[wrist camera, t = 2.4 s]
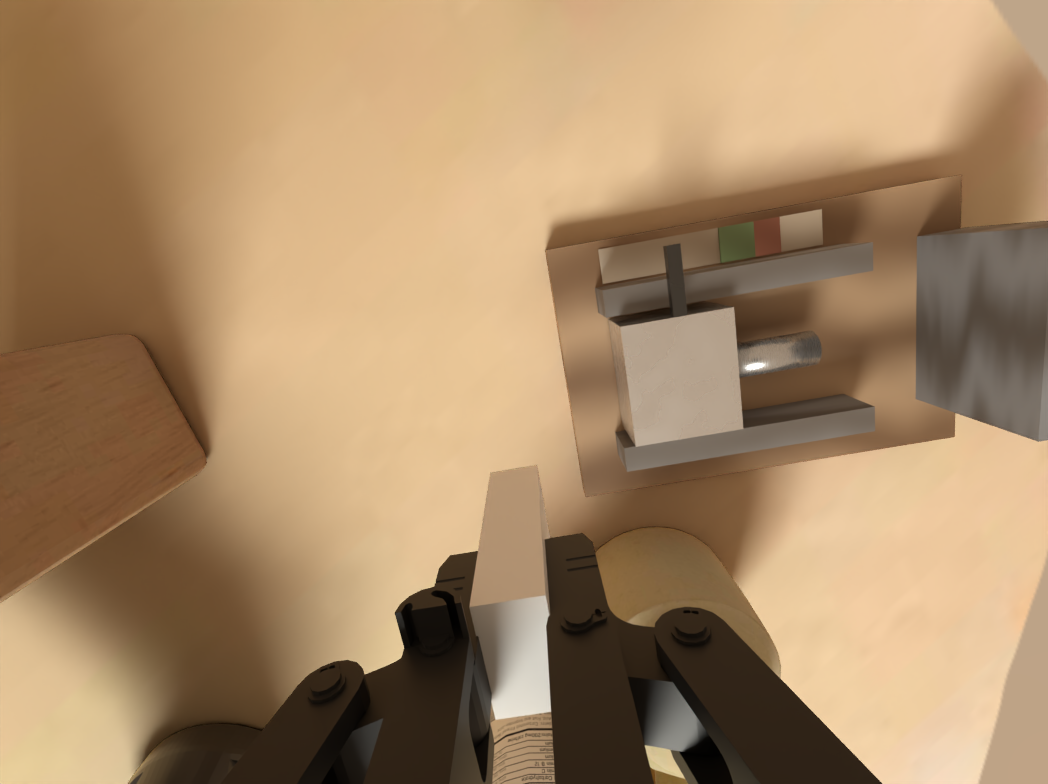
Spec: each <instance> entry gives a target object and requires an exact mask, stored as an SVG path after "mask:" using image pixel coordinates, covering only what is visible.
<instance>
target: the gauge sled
mask: <svg viewBox="0 0 1048 784" xmlns="http://www.w3.org/2000/svg"><path fill="white" fill-rule="evenodd" d="M663 249H664V259H665V268H666V278H667V287H668V296H669V306H670V308H668V309H662V310H656V311H651V312H645V313H639V314H634V315H628V316H622V317H617V318H611V319H608V322H609V330H610V337H611V345H612V352H613V359H614V367H615V374H616V381H617V389H618V396H619V403H620V411H621V418H622V425H623V427H624V428H625V430H626V432H627V433H628V435H629V436H630V438H631V440H632V441H633V443H634V444H635V446H636V447H638V446H644V445H650V444H656V443H662V442H668V441H674V440H680V439H686V438H692V437H698V436H704V435H710V434H716V433H722V432H728V431H734V430H740V429H743V417H742V404H741V391H740V378H742V377H748V376H754V375H760V374H765V373H771V372H777V371H783V370H789V369H795V368H801V367H807V366H812V365H817V364H818V363H819V362H820V360H821V356H822V348H821V343H820V340H819V338H818V336H817V335H816V333H815V332H813V331H804V332H798V333H793V334H787V335H781V336H775V337H769V338H764V339H758V340H752V341H746V342H740V343H737V339H736V326H735V313H734V307H732V306H727V305H722V304H717V303H712V302H702V303H696V304H690V305H686V295H685V284H684V274H683V264H682V254H681V244H680V243H678V244H672V245H667V246H663Z"/></svg>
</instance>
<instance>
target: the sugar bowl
mask: <svg viewBox="0 0 1048 784" xmlns="http://www.w3.org/2000/svg"><path fill="white" fill-rule="evenodd" d="M595 554H596V558H597V562H598V567H599V571H600V575H601V579H602V583H603V587H604V591H605V595H606V599H607V603H608V606H609V608H610V610H611V611H612V612H613V614H614V615H615V616H617V617H618V618H620V619H621V620H623V621H625V622H628V623H631V624H634V625H640V626H648V627H655V622H656V621H657V620H658V619H659V618H660V616H661V615H662V614H664V613H666V612H668V611H670V610H672V609H675V608H681V607H696V608H702V609H705V610H708V611H711V612H713V613H715V614H716V615H717V616H719V617H720V618H722V619H723V620H724V621H725V622H726V623H727V624H728V625H729V626H730V627H731V628H732V629H733V630H734V631H735V632H736V633H737V634H738V635H739V637H740V638H741V639H742V640H743V641H744V642H745V643H746V644H747V645H748V646H749V647H750V648H751V649H752V650H753V651H754V652H755V653H756V654H757V655H758V656H759V657H760V658H761V659H762V660H763V661H764V662H765V663H766V664H767V665H768V666H769V667H770V668H771V670H772V671H773V672H774V673H775V674H776V675H777V676H778V677H779V678H780V674H781V665H780V660H779V655H778V652H777V649H776V647H775V645H774V643H773V641H772V639H771V637H770V635H769V634H768V632H767V631H766V629H765V627H764V626H763V624H762V622H761V621H760V619H759V618H758V616H757V614H756V613H755V611H754V610H753V608H752V606H751V605H750V603H749V602H748V600H747V598H746V597H745V596H744V594H743V593H742V591H741V590H740V588H739V587H738V586H737V584H736V583H735V581H734V580H733V579H732V577H731V576H730V574H729V573H728V572H727V570H726V569H725V567H724V566H723V565H722V563H721V562H720V560H719V559H718V558H717V556H716V555H715V554H714V552H713V551H712V550H711V549H710V548H709V547H708V546H707V545H706V544H704V543H703V542H701V541H700V540H699V539H697V538H696V537H694V536H692V535H689V534H687V533H685V532H683V531H680V530H676V529H672V528H665V527H646V528H640V529H635V530H632V531H629V532H626V533H623V534H621V535H619V536H617V537H615V538H613V539H611V540H610V541H609V542H607V543H606V544H604V545H603V546H602V547H600V548H599V549H598V550H597V551H596V552H595ZM645 749H646V753H647V757H648V761H649V765H650V769H651V773H652V777H653V781H654V784H688V783H687V781H686V779H685V778H684V776H683V774H682V772H681V771H680V769H679V767H678V765H677V764H676V762H675V760H674V759H673V756H672V753H671V750H669V749H664V748H658V747H652V746H647V745H645Z"/></svg>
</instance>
